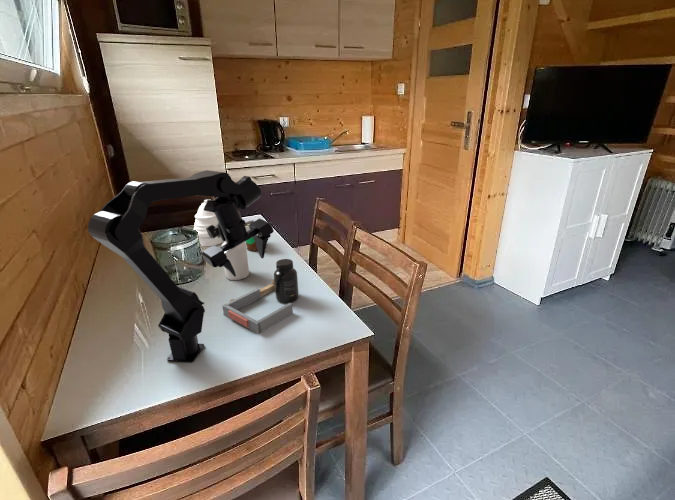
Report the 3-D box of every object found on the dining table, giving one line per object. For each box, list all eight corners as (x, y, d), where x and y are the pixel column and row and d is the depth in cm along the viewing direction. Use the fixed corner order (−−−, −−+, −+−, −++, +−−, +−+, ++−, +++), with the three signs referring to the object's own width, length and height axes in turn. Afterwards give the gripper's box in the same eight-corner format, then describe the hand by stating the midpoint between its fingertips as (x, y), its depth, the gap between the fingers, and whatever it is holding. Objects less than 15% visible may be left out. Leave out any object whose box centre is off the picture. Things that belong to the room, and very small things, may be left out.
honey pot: (232, 238, 163) (227, 198, 156) (209, 248, 153) (201, 205, 146) (212, 233, 169) (206, 194, 163) (188, 242, 159) (180, 201, 153)
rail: (233, 310, 108) (232, 303, 107) (229, 308, 109) (228, 301, 108) (281, 286, 120) (280, 280, 120) (276, 284, 122) (275, 278, 121)
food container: (241, 245, 155) (238, 222, 152) (255, 242, 158) (253, 219, 154) (247, 255, 145) (244, 231, 141) (263, 252, 147) (260, 228, 144)
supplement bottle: (302, 293, 116) (299, 258, 111) (293, 305, 110) (290, 268, 105) (281, 291, 118) (278, 256, 113) (272, 302, 112) (268, 265, 107)
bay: (256, 334, 97) (254, 325, 95) (221, 315, 106) (220, 306, 104) (292, 313, 106) (292, 303, 105) (258, 297, 115) (257, 288, 114)
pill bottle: (225, 282, 125) (219, 240, 119) (225, 272, 132) (219, 231, 126) (250, 278, 126) (244, 237, 121) (248, 269, 134) (243, 229, 128)
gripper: (243, 194, 104) (259, 240, 113) (181, 227, 94) (205, 274, 103) (266, 204, 96) (281, 252, 105) (202, 240, 87) (225, 290, 96)
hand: (248, 266), depth 103 cm, fingers open, 9 cm apart
